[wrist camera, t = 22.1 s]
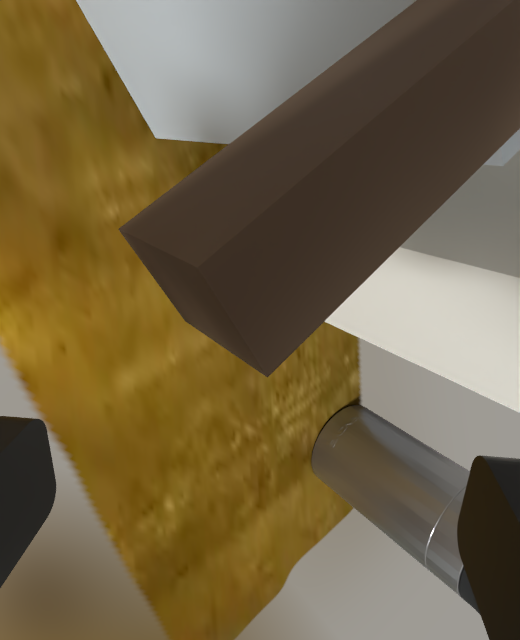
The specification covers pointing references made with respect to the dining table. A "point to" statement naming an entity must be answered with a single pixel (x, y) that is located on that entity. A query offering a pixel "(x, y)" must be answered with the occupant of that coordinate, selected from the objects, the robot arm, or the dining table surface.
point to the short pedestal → (231, 57)
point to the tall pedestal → (453, 290)
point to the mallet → (335, 178)
